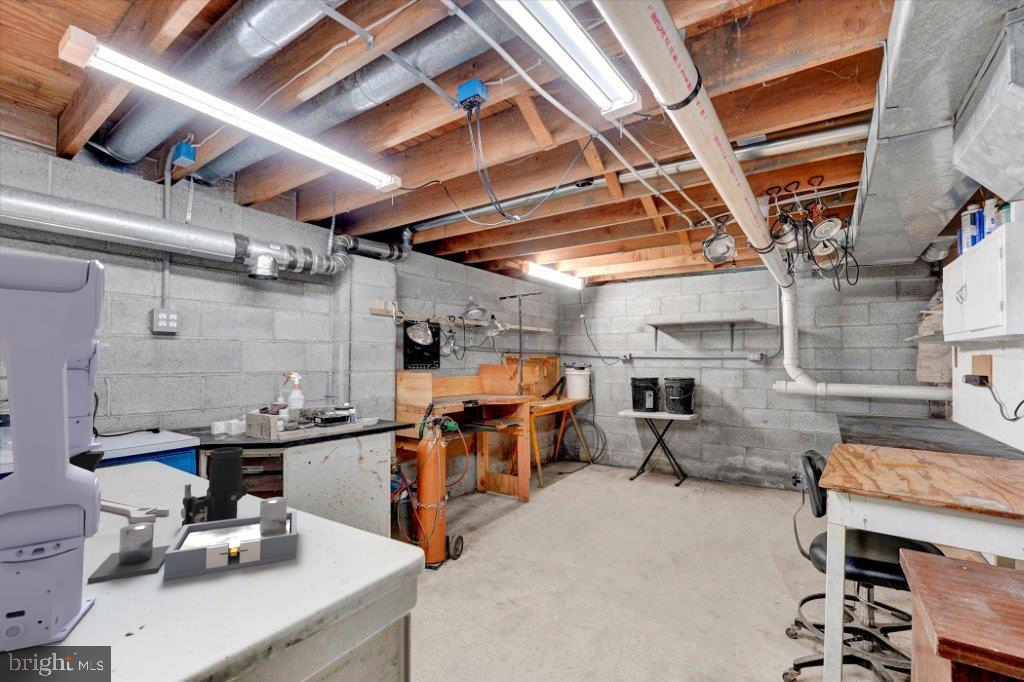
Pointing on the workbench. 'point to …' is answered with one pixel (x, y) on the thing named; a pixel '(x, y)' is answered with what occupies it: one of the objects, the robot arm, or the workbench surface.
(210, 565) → the tray
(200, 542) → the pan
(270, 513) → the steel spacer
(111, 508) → the adjustable wrench
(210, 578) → the workbench surface
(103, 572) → the rubber mat
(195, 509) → the scope
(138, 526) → the cylinder
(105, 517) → the workbench surface
